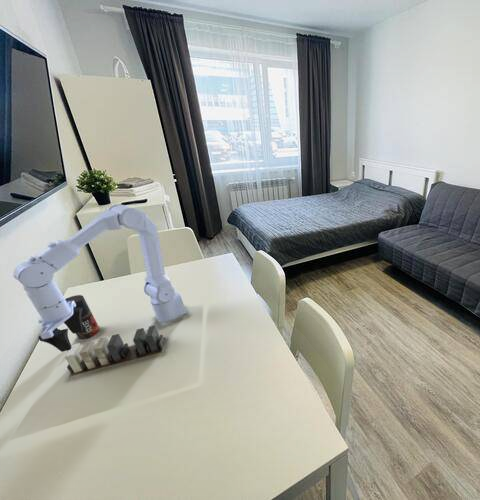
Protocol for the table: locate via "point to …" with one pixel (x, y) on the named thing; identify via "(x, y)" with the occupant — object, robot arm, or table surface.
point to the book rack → (119, 350)
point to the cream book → (75, 358)
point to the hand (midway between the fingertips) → (72, 340)
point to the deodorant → (85, 318)
